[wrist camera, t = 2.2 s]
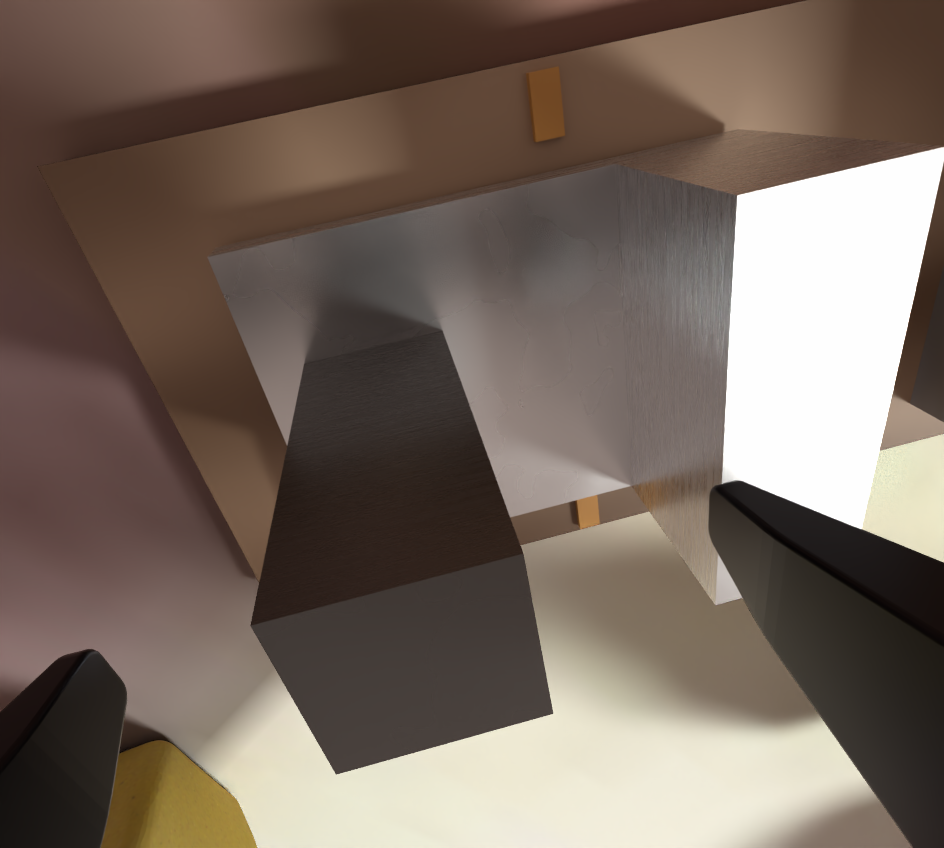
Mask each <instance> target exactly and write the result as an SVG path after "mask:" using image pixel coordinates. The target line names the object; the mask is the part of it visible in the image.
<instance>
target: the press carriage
mask: <svg viewBox="0 0 944 848" xmlns="http://www.w3.org/2000/svg"><path fill="white" fill-rule="evenodd" d="M943 163H944V146H938V145H926V144H913V143H901V142H889V141H877V140H865V139H853V138H840V137H828V136H816V135H804V134H792V133H779V132H767V131H755V130H743V129H735V130H731V131H727V132H722V133H718V134H713V135H709V136H705V137H700V138H696V139H691V140H687V141H683V142H678V143H674V144H669V145H665V146H661V147H656V148H652V149H648V150H643V151H639V152H634V153H630V154H626V155H621V156H617V157H612V158H608V159H604V160H599V161H595V162H590V163H586V164H582V165H577V166H573V167H568V168H564V169H560V170H555V171H551V172H546V173H542V174H538V175H533V176H529V177H524V178H520V179H516V180H511V181H507V182H502V183H498V184H494V185H489V186H485V187H480V188H476V189H472V190H467V191H463V192H458V193H454V194H450V195H445V196H441V197H436V198H432V199H428V200H423V201H419V202H414V203H410V204H406V205H401V206H397V207H392V208H388V209H384V210H379V211H375V212H370V213H366V214H362V215H357V216H353V217H348V218H344V219H340V220H335V221H331V222H326V223H322V224H318V225H313V226H309V227H304V228H300V229H296V230H291V231H287V232H283V233H278V234H274V235H269V236H265V237H261V238H256V239H252V240H247V241H243V242H239V243H234V244H230V245H225V246H221V247H217V248H215V249H214V251H213V252H212V253H211V254H210V255H209V256H208V257H207V258H208V260H209V262H210V265H211V267H212V269H213V272H214V274H215V277H216V279H217V281H218V284H219V286H220V288H221V291H222V293H223V295H224V298H225V300H226V303H227V305H228V307H229V310H230V312H231V314H232V317H233V319H234V321H235V324H236V326H237V329H238V331H239V333H240V336H241V338H242V340H243V343H244V345H245V347H246V350H247V352H248V355H249V357H250V359H251V362H252V364H253V366H254V369H255V371H256V373H257V376H258V378H259V381H260V383H261V385H262V388H263V390H264V392H265V395H266V397H267V399H268V402H269V404H270V407H271V409H272V411H273V414H274V416H275V418H276V421H277V423H278V426H279V428H280V430H281V433H282V435H283V437H284V440H285V442H286V444H287V450H286V455H285V460H284V464H283V469H282V474H281V479H280V484H279V489H278V494H277V499H276V504H275V508H274V513H273V518H272V523H271V528H270V533H269V538H268V543H267V548H266V552H265V557H264V562H263V567H262V572H261V577H260V582H259V587H258V592H257V596H256V601H255V606H254V611H253V616H252V621H251V627H252V629H253V631H254V633H255V634H256V636H257V638H258V640H259V641H260V643H261V645H262V647H263V648H264V650H265V652H266V653H267V655H268V657H269V659H270V660H271V662H272V664H273V666H274V667H275V669H276V671H277V673H278V674H279V676H280V678H281V680H282V681H283V683H284V685H285V686H286V688H287V690H288V692H289V693H290V695H291V697H292V699H293V700H294V702H295V704H296V706H297V707H298V709H299V711H300V713H301V714H302V716H303V718H304V719H305V721H306V723H307V725H308V726H309V728H310V730H311V732H312V733H313V735H314V737H315V739H316V740H317V742H318V744H319V746H320V747H321V749H322V751H323V752H324V754H325V756H326V758H327V759H328V761H329V763H330V765H331V766H332V768H333V770H334V772H335V773H336V774H340V773H343V772H347V771H351V770H354V769H358V768H361V767H365V766H368V765H372V764H375V763H379V762H383V761H386V760H390V759H393V758H397V757H400V756H404V755H408V754H411V753H415V752H418V751H422V750H425V749H429V748H432V747H436V746H440V745H443V744H447V743H450V742H454V741H457V740H461V739H465V738H468V737H472V736H475V735H479V734H482V733H486V732H490V731H493V730H497V729H500V728H504V727H507V726H511V725H514V724H518V723H522V722H525V721H529V720H532V719H536V718H539V717H543V716H547V715H550V714H553V710H552V704H551V699H550V694H549V688H548V683H547V678H546V672H545V667H544V662H543V656H542V651H541V646H540V640H539V635H538V630H537V624H536V619H535V613H534V608H533V603H532V597H531V592H530V587H529V581H528V576H527V571H526V565H525V560H524V555H523V551H522V549H521V546H520V543H519V540H518V538H517V535H516V532H515V529H514V527H513V524H512V521H511V518H510V517H514V516H518V515H521V514H525V513H529V512H533V511H537V510H541V509H544V508H548V507H552V506H556V505H560V504H564V503H567V502H571V501H575V500H579V499H583V498H587V497H591V496H594V495H598V494H602V493H606V492H610V491H614V490H617V489H621V488H625V487H629V486H632V488H633V489H634V490H635V492H636V493H637V495H638V496H639V498H640V499H641V500H642V502H643V503H644V505H645V506H646V507H647V509H648V510H649V512H650V513H651V515H652V516H653V517H654V519H655V520H656V522H657V523H658V525H659V526H660V527H661V529H662V530H663V532H664V533H665V535H666V536H667V537H668V539H669V540H670V542H671V543H672V544H673V546H674V547H675V549H676V550H677V552H678V553H679V554H680V556H681V557H682V559H683V560H684V562H685V563H686V564H687V566H688V567H689V569H690V570H691V571H692V573H693V574H694V576H695V577H696V579H697V580H698V581H699V583H700V584H701V586H702V587H703V589H704V590H705V591H706V593H707V594H708V596H709V597H710V598H711V600H712V601H713V603H714V604H715V605H719V604H722V603H726V602H730V601H733V600H737V599H741V598H742V596H741V594H740V593H739V591H738V589H737V587H736V585H735V583H734V582H733V580H732V578H731V576H730V574H729V573H728V571H727V569H726V567H725V565H724V564H723V562H722V560H721V558H720V556H719V555H718V553H717V551H716V549H715V547H714V546H713V544H712V541H711V539H710V536H709V531H708V516H709V494H710V490H711V488H712V487H714V486H715V485H718V484H722V483H726V482H730V481H734V480H741V481H744V482H747V483H749V484H752V485H754V486H757V487H759V488H762V489H764V490H766V491H769V492H771V493H774V494H776V495H779V496H781V497H784V498H786V499H789V500H791V501H793V502H796V503H798V504H801V505H803V506H806V507H808V508H811V509H813V510H816V511H818V512H820V513H823V514H825V515H828V516H830V517H833V518H835V519H838V520H840V521H843V522H845V523H847V524H850V525H852V526H855V527H857V528H860V529H862V524H863V520H864V516H865V511H866V507H867V502H868V498H869V493H870V489H871V484H872V480H873V475H874V471H875V466H876V462H877V457H878V453H879V449H880V444H881V440H882V435H883V431H884V426H885V422H886V417H887V413H888V408H889V404H890V399H891V395H892V391H893V386H894V382H895V377H896V373H897V368H898V364H899V359H900V355H901V350H902V346H903V341H904V337H905V332H906V328H907V324H908V319H909V315H910V310H911V306H912V301H913V297H914V292H915V288H916V283H917V279H918V274H919V270H920V265H921V261H922V257H923V252H924V248H925V243H926V239H927V234H928V230H929V225H930V221H931V216H932V212H933V207H934V203H935V198H936V194H937V190H938V185H939V181H940V176H941V172H942V167H943Z"/></svg>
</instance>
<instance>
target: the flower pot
mask: <svg viewBox="0 0 944 848" xmlns="http://www.w3.org/2000/svg"><path fill="white" fill-rule="evenodd" d="M101 848H257V846H256V843H255V840H254V837H253V835H252V832H251V830H250V827H249V825H248V823H247V821H246V818H245V816H244V814H243V812H242V809H241V807H240V805H239V803H238V801H237V800H236V799H235V797H233V796H232V795H231V794H230V793H229V792H227V791H226V790H225V789H224V788H223V787H221V786H220V785H219V784H218V783H217V782H215V781H214V780H213V779H212V778H211V777H210V776H208V775H207V774H206V773H205V772H204V771H203V770H201V769H200V768H199V767H198V766H197V765H196V764H195V763H193V762H192V761H191V760H190V759H189V758H188V757H187V756H185V755H184V754H183V753H182V752H181V751H180V750H179V749H178V748H177V747H175V746H174V745H173V744H171V743H169V742H167V741H162V740H157V741H152V742H148V743H145V744H143V745H140V746H138V747H135V748H132V749H130V750H127V751H125V752H122V753H119V756H118V762H117V769H116V775H115V782H114V788H113V795H112V800H111V805H110V811H109V816H108V820H107V825H106V829H105V833H104V837H103V841H102V845H101Z"/></svg>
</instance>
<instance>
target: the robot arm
mask: <svg viewBox="0 0 944 848" xmlns="http://www.w3.org/2000/svg"><path fill="white" fill-rule="evenodd" d="M708 531H709V536H710V539H711V541H712V544H713V546H714V547H715V549H716V551H717V553H718V555H719V556H720V558H721V560H722V562H723V564H724V565H725V567H726V569H727V571H728V573H729V574H730V576H731V578H732V580H733V582H734V583H735V585H736V587H737V589H738V591H739V593H740V594H741V596H742V598H743V600H744V602H745V603H746V605H747V607H748V609H749V611H750V612H751V614H752V616H753V618H754V620H755V621H756V623H757V625H758V626H759V628H760V630H761V631H762V633H763V635H764V636H765V638H766V639H767V641H768V642H769V644H770V645H771V647H772V648H773V650H774V651H775V652H776V654H777V655H778V657H779V658H780V660H781V661H782V662H783V664H784V665H785V667H786V668H787V670H788V671H789V672H790V674H791V675H792V677H793V678H794V680H795V681H796V682H797V684H798V685H799V687H800V688H801V690H802V691H803V692H804V694H805V695H806V697H807V698H808V699H809V701H810V702H811V704H812V705H813V707H814V708H815V709H816V711H817V712H818V714H819V715H820V717H821V718H822V719H823V721H824V722H825V724H826V725H827V727H828V728H829V729H830V731H831V732H832V734H833V735H834V737H835V738H836V739H837V741H838V742H839V744H840V745H841V746H842V748H843V749H844V751H845V752H846V754H847V755H848V756H849V758H850V759H851V761H852V762H853V764H854V765H855V766H856V768H857V769H858V771H859V772H860V774H861V775H862V776H863V778H864V779H865V781H866V782H867V784H868V785H869V786H870V788H871V789H872V791H873V792H874V794H875V795H876V796H877V798H878V799H879V801H880V802H881V803H882V805H883V806H884V808H885V809H886V811H887V812H888V813H889V815H890V816H891V818H892V819H893V821H894V822H895V823H896V825H897V826H898V828H899V829H900V831H901V832H902V833H903V835H904V836H905V838H906V839H907V841H908V842H909V843H910V845H911V846H912V848H944V563H943V562H941V561H938V560H936V559H933V558H931V557H929V556H926V555H924V554H921V553H919V552H916V551H914V550H911V549H909V548H906V547H904V546H902V545H899V544H897V543H894V542H892V541H889V540H887V539H884V538H882V537H879V536H877V535H875V534H872V533H870V532H867V531H865V530H862V529H860V528H857V527H855V526H852V525H850V524H847V523H845V522H843V521H840V520H838V519H835V518H833V517H830V516H828V515H825V514H823V513H820V512H818V511H816V510H813V509H811V508H808V507H806V506H803V505H801V504H798V503H796V502H793V501H791V500H789V499H786V498H784V497H781V496H779V495H776V494H774V493H771V492H769V491H766V490H764V489H762V488H759V487H757V486H754V485H752V484H749V483H747V482H744V481H741V480H734V481H730V482H726V483H722V484H718V485H715V486H714V487H712V488H711V490H710V494H709V516H708ZM126 704H127V691H126V687H125V685H124V683H123V681H122V680H121V678H120V677H119V676H118V675H117V674H116V672H115V671H114V670H113V669H112V667H111V666H110V665H109V664H108V662H107V661H106V660H105V659H104V657H103V656H102V655H101V654H100V653H99V652H98V651H96V650H93V649H86V650H82V651H79V652H75V653H71V654H67V655H64V656H62V657H60V658H58V659H57V660H56V661H55V662H54V663H52V664H51V665H50V666H49V667H48V668H47V669H46V670H45V671H44V672H43V673H42V674H41V675H40V676H39V677H37V678H36V679H35V680H34V681H33V682H32V683H31V684H30V685H29V686H28V687H27V688H26V689H25V690H24V691H22V692H21V693H20V694H19V695H18V696H17V697H16V698H15V699H14V700H13V701H12V702H11V703H10V704H9V705H7V706H6V707H5V708H4V709H3V710H2V711H1V712H0V848H101V845H102V841H103V837H104V833H105V829H106V825H107V820H108V816H109V811H110V805H111V800H112V795H113V788H114V782H115V775H116V769H117V762H118V756H119V749H120V743H121V736H122V730H123V723H124V717H125V710H126Z"/></svg>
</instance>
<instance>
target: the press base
mask: <svg viewBox="0 0 944 848" xmlns="http://www.w3.org/2000/svg"><path fill="white" fill-rule="evenodd" d="M735 129H743V130H755V131H767V132H779V133H792V134H804V135H816V136H828V137H840V138H853V139H865V140H877V141H889V142H901V143H913V144H926V145H938V146H944V0H806V1H801V2H797V3H792V4H787V5H783V6H778V7H773V8H769V9H764V10H760V11H755V12H750V13H746V14H741V15H736V16H732V17H727V18H722V19H718V20H713V21H709V22H704V23H699V24H695V25H690V26H685V27H681V28H676V29H672V30H667V31H662V32H658V33H653V34H648V35H644V36H639V37H635V38H630V39H625V40H621V41H616V42H611V43H607V44H602V45H598V46H593V47H588V48H584V49H579V50H574V51H570V52H565V53H560V54H556V55H551V56H547V57H542V58H537V59H533V60H528V61H523V62H519V63H514V64H510V65H505V66H500V67H496V68H491V69H486V70H482V71H477V72H473V73H468V74H463V75H459V76H454V77H449V78H445V79H440V80H435V81H431V82H426V83H422V84H417V85H412V86H408V87H403V88H398V89H394V90H389V91H385V92H380V93H375V94H371V95H366V96H361V97H357V98H352V99H348V100H343V101H338V102H334V103H329V104H324V105H320V106H315V107H311V108H306V109H301V110H297V111H292V112H287V113H283V114H278V115H273V116H269V117H264V118H260V119H255V120H250V121H246V122H241V123H236V124H232V125H227V126H223V127H218V128H213V129H209V130H204V131H199V132H195V133H190V134H186V135H181V136H176V137H172V138H167V139H162V140H158V141H153V142H148V143H144V144H139V145H135V146H130V147H125V148H121V149H116V150H111V151H107V152H102V153H98V154H93V155H88V156H84V157H79V158H74V159H70V160H65V161H61V162H56V163H51V164H47V165H42V166H37V167H38V169H39V171H40V173H41V175H42V176H43V178H44V180H45V182H46V184H47V186H48V188H49V190H50V191H51V193H52V195H53V197H54V199H55V201H56V203H57V205H58V206H59V208H60V210H61V212H62V214H63V216H64V218H65V220H66V221H67V223H68V225H69V227H70V229H71V231H72V233H73V235H74V236H75V238H76V240H77V242H78V244H79V246H80V248H81V250H82V251H83V253H84V255H85V257H86V259H87V261H88V263H89V265H90V266H91V268H92V270H93V272H94V274H95V276H96V278H97V280H98V281H99V283H100V285H101V287H102V289H103V291H104V293H105V295H106V296H107V298H108V300H109V302H110V304H111V306H112V308H113V310H114V312H115V313H116V315H117V317H118V319H119V321H120V323H121V325H122V327H123V328H124V330H125V332H126V334H127V336H128V338H129V340H130V342H131V343H132V345H133V347H134V349H135V351H136V353H137V355H138V357H139V358H140V360H141V362H142V364H143V366H144V368H145V370H146V372H147V373H148V375H149V377H150V379H151V381H152V383H153V385H154V387H155V388H156V390H157V392H158V394H159V396H160V398H161V400H162V402H163V403H164V405H165V407H166V409H167V411H168V413H169V415H170V417H171V418H172V420H173V422H174V424H175V426H176V428H177V430H178V432H179V433H180V435H181V437H182V439H183V441H184V443H185V445H186V447H187V448H188V450H189V452H190V454H191V456H192V458H193V460H194V462H195V463H196V465H197V467H198V469H199V471H200V473H201V475H202V477H203V478H204V480H205V482H206V484H207V486H208V488H209V490H210V492H211V493H212V495H213V497H214V499H215V501H216V503H217V505H218V507H219V508H220V510H221V512H222V514H223V516H224V518H225V520H226V522H227V523H228V525H229V527H230V529H231V531H232V533H233V535H234V537H235V538H236V540H237V542H238V544H239V546H240V548H241V550H242V552H243V553H244V555H245V557H246V559H247V561H248V563H249V565H250V567H251V568H252V570H253V572H254V574H255V576H256V578H257V580H258V582H260V577H261V572H262V567H263V562H264V557H265V552H266V548H267V543H268V538H269V533H270V528H271V523H272V518H273V513H274V508H275V504H276V499H277V494H278V489H279V484H280V479H281V474H282V469H283V464H284V460H285V455H286V450H287V444H286V442H285V440H284V437H283V435H282V433H281V430H280V428H279V426H278V423H277V421H276V418H275V416H274V414H273V411H272V409H271V407H270V404H269V402H268V399H267V397H266V395H265V392H264V390H263V388H262V385H261V383H260V381H259V378H258V376H257V373H256V371H255V369H254V366H253V364H252V362H251V359H250V357H249V355H248V352H247V350H246V347H245V345H244V343H243V340H242V338H241V336H240V333H239V331H238V329H237V326H236V324H235V321H234V319H233V317H232V314H231V312H230V310H229V307H228V305H227V303H226V300H225V298H224V295H223V293H222V291H221V288H220V286H219V284H218V281H217V279H216V277H215V274H214V272H213V269H212V267H211V265H210V262H209V260H208V258H207V257H208V256H209V255H210V254H211V253H212V252H213V251H214V249H215V248H217V247H221V246H225V245H230V244H234V243H239V242H243V241H247V240H252V239H256V238H261V237H265V236H269V235H274V234H278V233H283V232H287V231H291V230H296V229H300V228H304V227H309V226H313V225H318V224H322V223H326V222H331V221H335V220H340V219H344V218H348V217H353V216H357V215H362V214H366V213H370V212H375V211H379V210H384V209H388V208H392V207H397V206H401V205H406V204H410V203H414V202H419V201H423V200H428V199H432V198H436V197H441V196H445V195H450V194H454V193H458V192H463V191H467V190H472V189H476V188H480V187H485V186H489V185H494V184H498V183H502V182H507V181H511V180H516V179H520V178H524V177H529V176H533V175H538V174H542V173H546V172H551V171H555V170H560V169H564V168H568V167H573V166H577V165H582V164H586V163H590V162H595V161H599V160H604V159H608V158H612V157H617V156H621V155H626V154H630V153H634V152H639V151H643V150H648V149H652V148H656V147H661V146H665V145H669V144H674V143H678V142H683V141H687V140H691V139H696V138H700V137H705V136H709V135H713V134H718V133H722V132H727V131H731V130H735ZM941 434H944V163H943V167H942V172H941V176H940V181H939V185H938V190H937V194H936V198H935V203H934V207H933V212H932V216H931V221H930V225H929V230H928V234H927V239H926V243H925V248H924V252H923V257H922V261H921V265H920V270H919V274H918V279H917V283H916V288H915V292H914V297H913V301H912V306H911V310H910V315H909V319H908V324H907V328H906V332H905V337H904V341H903V346H902V350H901V355H900V359H899V364H898V368H897V373H896V377H895V382H894V386H893V391H892V395H891V399H890V404H889V408H888V413H887V417H886V422H885V426H884V431H883V435H882V440H881V444H880V449H879V451H880V450H884V449H888V448H892V447H895V446H899V445H903V444H907V443H911V442H914V441H918V440H922V439H926V438H930V437H933V436H937V435H941ZM648 511H649V510H648V509H647V507H646V506H645V505H644V503H643V502H642V500H641V499H640V498H639V496H638V495H637V493H636V492H635V490H634V489H633V488H632V486H629V487H625V488H621V489H617V490H614V491H610V492H606V493H602V494H598V495H594V496H591V497H587V498H583V499H579V500H575V501H571V502H567V503H564V504H560V505H556V506H552V507H548V508H544V509H541V510H537V511H533V512H529V513H525V514H521V515H518V516H514V517H510V518H511V521H512V524H513V527H514V529H515V532H516V535H517V538H518V540H519V543H520V545H523V544H527V543H531V542H534V541H538V540H542V539H546V538H550V537H553V536H557V535H561V534H565V533H569V532H572V531H576V530H580V529H584V528H588V527H591V526H595V525H599V524H603V523H607V522H610V521H614V520H618V519H622V518H626V517H629V516H633V515H637V514H641V513H645V512H648Z"/></svg>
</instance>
